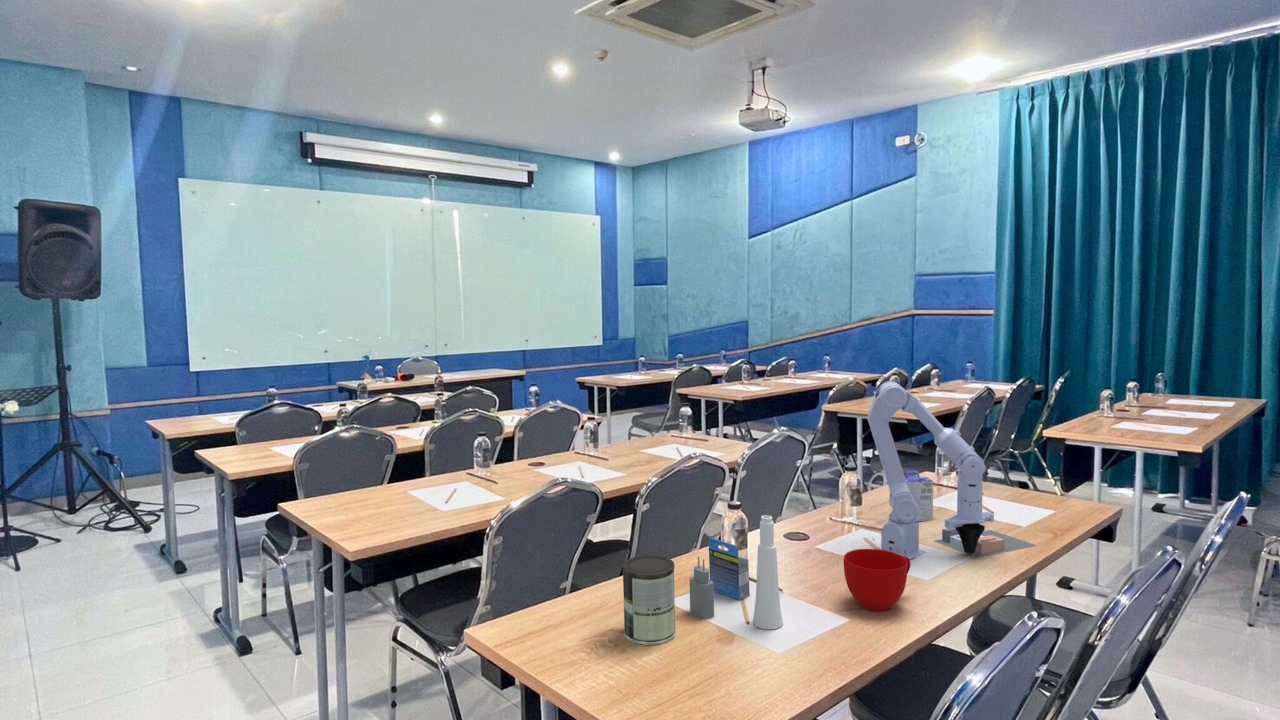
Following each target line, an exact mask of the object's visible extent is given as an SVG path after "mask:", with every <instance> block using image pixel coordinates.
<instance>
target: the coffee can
mask: <svg viewBox="0 0 1280 720" xmlns="http://www.w3.org/2000/svg"><path fill="white" fill-rule="evenodd" d="M675 564H676V563H675V562H674V560H672V559H670V558H668V557H665V556H662V555H655V554H654V555H653V554H652V555H637V556H634V557H631V558H628V559H626V560H625V561H623V563H622V565H621V568H622V582H623V584H622V587H623V618H624V619H623V620H624V621H623V624H624V627H623V628H624V630H623V631H624V632H623V635H624V638H625V639H626V638H627V639H628V640H627V639H626V640H627V641H628V642H631V641H632V642H631V643H633V642H634V643H633V644H635V643H637V645H640V644H643V645H642V646H656V645H655V644H658V645H662V644H661V643H663V644H666V643H668V642H670V641H671V640H673V638H675V636H676V614H675V612H676V607H675V603H676V602H675V601H676V600H675V599H676V598H675V566H676V565H675Z"/></svg>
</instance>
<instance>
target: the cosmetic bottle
mask: <svg viewBox="0 0 1280 720" xmlns="http://www.w3.org/2000/svg"><path fill="white" fill-rule="evenodd" d="M760 519H761V520H760V522H759V543H758V545H757V557H756V558H757V560H756V586H755V587H756V589H755V602H754V609H753V612H754V613H753V617H752V624H753V625H754V626H755V627H756V628H759V629H762V630H778V629H779V628H781V627H783V624H784V622H783V621H784V620H783V616H782V610H781V602H780V589H779V588H780V587H779V571H778V569H779V568H778V555H777V545H776V544H775V524H774V522H775V521H773V517H772V515H767V514H765V515H761V516H760Z"/></svg>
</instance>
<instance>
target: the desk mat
mask: <svg viewBox="0 0 1280 720" xmlns="http://www.w3.org/2000/svg"><path fill="white" fill-rule="evenodd" d="M981 535H982V536H989V535H993V536H996V537H999V538H1002V539H1005V549H1004V550H999V551H994V552H989V553H985V554H980V553H977V552H974V553H973V554H969V553H966V552H964V549H963V547H961V546H958V545H956V544H953V543H950V542H948V543H946V542H943V541H942V538H940V539H936V540H935V539H934V540H933V543H937V544H939V545H942V546H945V547H948V548H950V549H952V550H955V551H958V552H960V553H963V554H966V555H969V556H970V557H971V556H972V557H974V558H977V559H979V558H985V557H989V556H994V555H999V554H1004V553H1008V552H1012V551H1018V550H1022V549H1027V548H1032V547H1036V546H1038V545H1037V544H1035V543H1032V542H1028V541H1025V540H1023V539H1020V538H1017V537H1013V536H1009V535H1007V534H1004V533H1002V532H997V531H995V530H991V529H988V530H987V529H986V530H984V531H983V533H982V534H981Z"/></svg>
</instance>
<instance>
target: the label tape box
mask: <svg viewBox="0 0 1280 720" xmlns="http://www.w3.org/2000/svg"><path fill="white" fill-rule="evenodd" d="M720 547H724V548H725V549H723V548H720ZM726 549H727V550H726ZM708 560H709V562H708V563H709V564H708V565H709V567H708V568H709V580H710V581H712V582H714V592H715V591H716V592H715V593H718V592H719V593H718V594H721V593H722V594H721V595H725V596H727V597H731V598H734V599H737V600H739V601H741V600H743V599H745V598H747V597H749V596H750V593H751V592H750V568H749V566H750V565H749V559H748V558H745V557H742V556H739V545H735V544H733V543H732V544H731V543H729V542H725V541H722V540H720V539H716V538H713V537H710V536H709V540H708Z"/></svg>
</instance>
